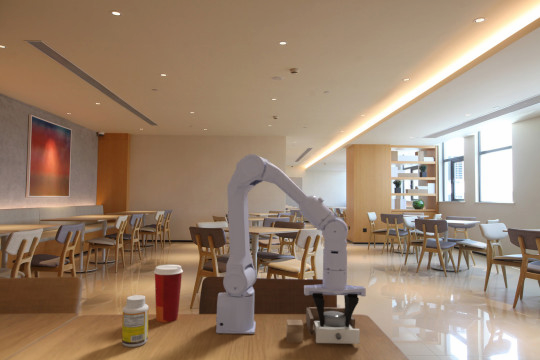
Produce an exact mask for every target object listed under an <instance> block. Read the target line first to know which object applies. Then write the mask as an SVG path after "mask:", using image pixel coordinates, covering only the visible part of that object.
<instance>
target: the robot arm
mask: <svg viewBox="0 0 540 360" xmlns="http://www.w3.org/2000/svg"><path fill="white" fill-rule="evenodd" d="M262 182H266V183H270V184H274V185H276V187H278V188H279V189H280V190H281V191H282V192H284V194H286V196H288V197H289V198H290V199H292V200H293V201H294V202H295V203H296V204H297V205H298V207H299V208H298V210H299V211H298V212H299V214H300V215H301V216H302V217H304V219H305V220H306V221H308V222H309V224H310V225H312V226H313V227H314V229H316V230H318V231H321V236H322V237H323V239H324V242H323V243H324V246H323V247H324V248H323V249H322V250H323V253H322V254H323V256H322V284H309V285H308V284H307V285H305V284H304V285H303V294H304V296H310V295H311V296H312V298H313V300H314V304H315V307H317V311H318V315H319V321H320V326H321V327H324V307H325V299H324V296H343V297H344V308H345V315H346V325H345V326H346V327H349V324H350V320H351V316H353V313H354V311H355V309H356V308H357V305H358V304H359V300H360V299H359V296H360V297H366V296H367V295H366V287H365V286H362V285H350V284H348V280H347V279H348V249H347V246H348V241H347V238H348V235H349V231H348V230H349V229H348V224H347V223H346V222H345V220H344V218H341V217H339V213H337V211H334V212H333V211H332V210H331V209H330V208H329V207H328V206H327V205H326V204H325V203H324V201H325V200H324V199H323V198H322V197H317V196H316V195H308V194H306V193H305V192H304V191H303V190H302V189H301V188H300V187H299V186H298V185H297V184H296V183H295V182H294V180H292V178H290V177H289V176H288V174H286V173H285V171H283V170H282V169H281V168H279V167H278V166H276V165H275V164H274V163H272V162H270V161H269V159H267V158H265V157H261V156H259V155H258V154H255V153H249V154H247V155H245V156H244V157H242V158H241V159H240V160H239V161H238V162H236V163H235V170H234V171H233V174H232V175H231V177H230V180H229V182H228V184H227V190H226V191H227V193H226V194H227V211H228V212H227V213H228V214H227V215H228V216H227V217H228V218H227V219H228V239H229V242H228V243H229V257H228V260H227V262H226V265H225V267H226V271H225V274H224V276H223V281H222V283H223V288H224V290H225V291H224V292H219V293H218V294H217V301H216V317H215V318H216V319H215V321H216V322H215V323H216V327H215V329H216V330H215V333H216V334H243V335H246V334H247V335H248V334H251V335H253V334H255V333H256V326H257V325H256V320H255V289H254V287H253V286H254V284H255V283H256V281H257V279H258V274H257V270H256V269H255V266H254V259H253V257H252V255H251V249H250V248H251V247H250V223H249V222H250V221H249V220H250V219H249V197H248V194H249V192H250V191H251V190H252V189H254V187H256V186H257V185H258V184H260V183H262Z"/></svg>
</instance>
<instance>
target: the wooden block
mask: <svg viewBox="0 0 540 360" xmlns="http://www.w3.org/2000/svg"><path fill="white" fill-rule="evenodd" d="M286 341H287V343H304V323H303V320H302V319H286Z"/></svg>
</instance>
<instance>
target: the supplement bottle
mask: <svg viewBox="0 0 540 360" xmlns="http://www.w3.org/2000/svg"><path fill="white" fill-rule="evenodd" d="M121 321H122V326H121V327H122V328H121V331H122V332H121V343H122V345H123V346H124V347H128V348H133V347H134V348H135V347H140V346H143V345H144V344H146V343H147V342H148V340H149V305H148V304H147V303H146V296H145V295H142V294H141V295H140V294H135V295H130V296H127V298H126V305H124V306H123V308H122V320H121Z"/></svg>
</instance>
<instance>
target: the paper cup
mask: <svg viewBox="0 0 540 360" xmlns="http://www.w3.org/2000/svg"><path fill="white" fill-rule="evenodd" d="M182 267H183V266H182V265H179V264H161V265H157V266H156V267H155V268H154V270H153V274H154V286H155V287H154V288H155V290H154V291H155V298H154V299H155V319H156V322H158V323H161V324H163V323H164V324H165V323H166V324H167V323H172V322H175V321H177V320H178V319H179V308H180V299H181V288H182V276H183V275H182V273H183V272H184V270H183V269H182Z"/></svg>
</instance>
